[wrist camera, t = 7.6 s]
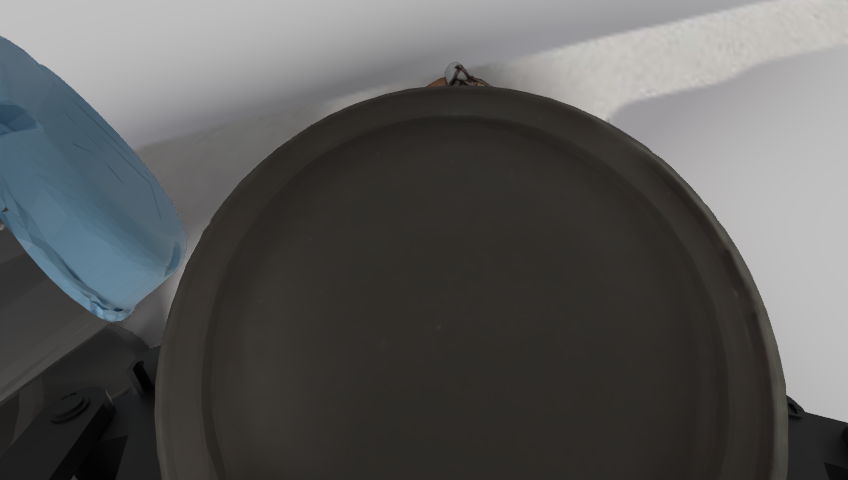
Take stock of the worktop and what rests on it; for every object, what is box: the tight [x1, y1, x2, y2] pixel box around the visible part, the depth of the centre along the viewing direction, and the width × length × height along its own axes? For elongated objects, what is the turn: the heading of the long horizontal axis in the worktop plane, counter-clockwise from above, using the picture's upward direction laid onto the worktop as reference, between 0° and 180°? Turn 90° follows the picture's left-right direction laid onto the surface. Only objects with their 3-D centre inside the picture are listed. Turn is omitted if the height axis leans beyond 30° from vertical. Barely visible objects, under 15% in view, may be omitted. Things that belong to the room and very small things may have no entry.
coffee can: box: [154, 85, 788, 480], centre depth 12 cm, size 10×10×14 cm
